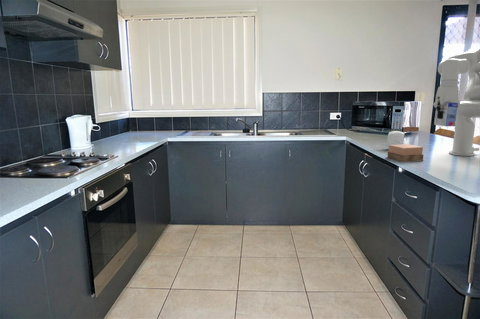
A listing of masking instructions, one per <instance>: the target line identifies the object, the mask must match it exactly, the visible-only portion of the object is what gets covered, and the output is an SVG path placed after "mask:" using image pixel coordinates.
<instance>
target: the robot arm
mask: <svg viewBox="0 0 480 319" xmlns="http://www.w3.org/2000/svg"><path fill="white" fill-rule="evenodd" d="M437 72H438V74H439V75H440V76H441V77H440V84H439V86H438V88H437V90H436V94H435V101H434V102H433V103H432V106H433V107H434V109H435V111H436V110H437V111H438V113H437V119H442V118H443V111H442V110H443V108H444V105H445V103H458V105H457V114H456V122H455V126H454V135H453V144H452V150H449V152H448V154H449V155H454V156H463V157H473V156H475V155H476V154H475V152H479V151H480V147H474V146H473V144H474V136H475V130H476V125H475V122H474V121H473V120H472V119H475V118H476V119H480V46H477V47H473V48H470V49H468V51H467V50H466V52H464V53H459V54H457V55H456V54H455V55H454V56H449V57H447V58H444V59H443V60H442V61H441V62H439V63H438V66H437ZM466 73H467V74H468V80H469V81H468V84H467V87H466V89H465V92H464V95H463V99H464V101H463V100H462V101H459V99H460V97H459V94H460V92H459V86H458V84H460V81H459V75H463V74H466ZM440 107H441V108H440Z"/></svg>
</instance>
